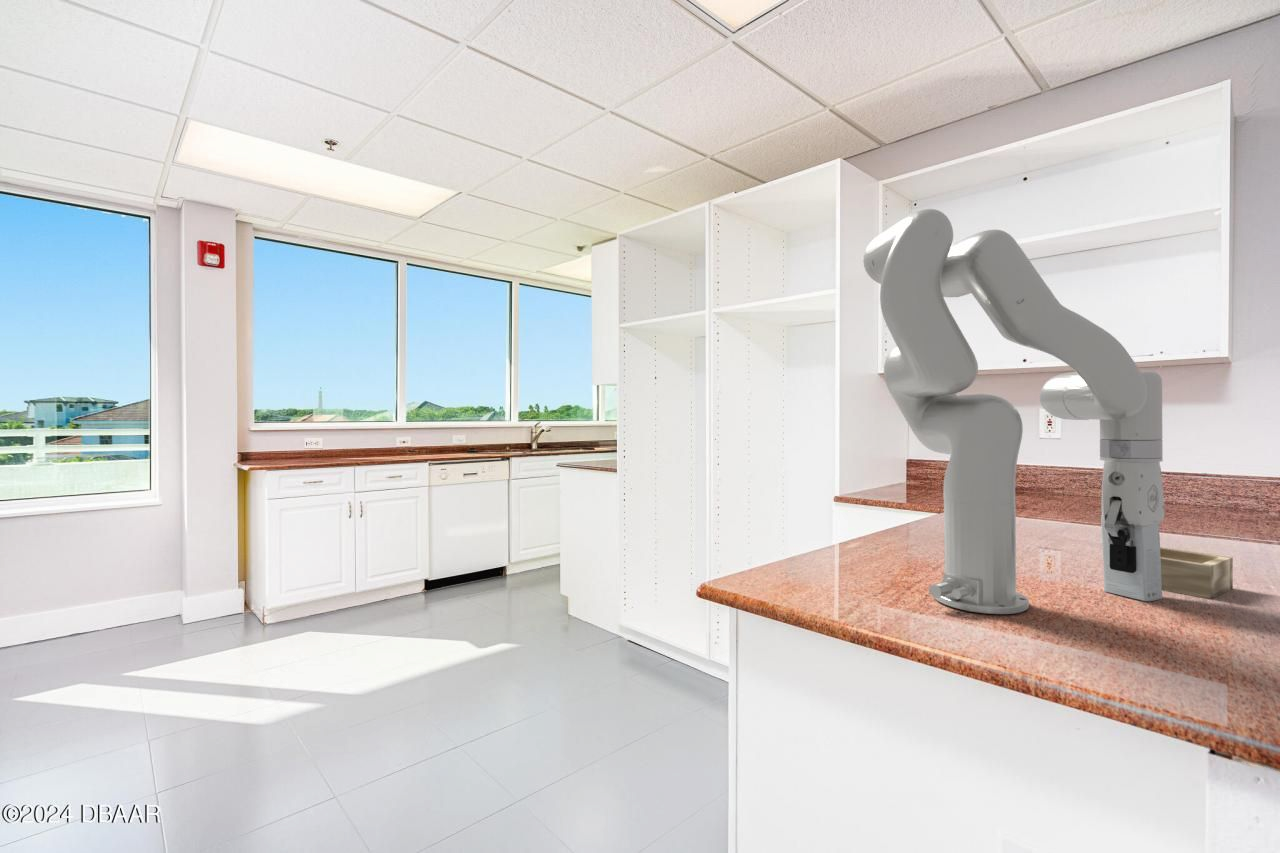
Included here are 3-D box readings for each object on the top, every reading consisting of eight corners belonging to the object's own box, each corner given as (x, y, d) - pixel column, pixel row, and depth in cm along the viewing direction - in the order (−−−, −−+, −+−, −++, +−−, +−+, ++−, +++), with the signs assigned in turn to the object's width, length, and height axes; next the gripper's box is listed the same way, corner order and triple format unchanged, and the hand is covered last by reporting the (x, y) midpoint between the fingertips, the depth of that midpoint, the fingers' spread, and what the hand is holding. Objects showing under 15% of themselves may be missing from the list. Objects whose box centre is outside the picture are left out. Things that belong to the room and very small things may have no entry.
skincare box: (1163, 599, 91) (1163, 519, 91) (1144, 602, 90) (1144, 522, 89) (1119, 588, 97) (1118, 513, 97) (1100, 591, 95) (1100, 515, 95)
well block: (1210, 599, 91) (1210, 566, 91) (1126, 582, 100) (1126, 553, 100) (1232, 588, 95) (1232, 557, 95) (1150, 574, 105) (1150, 545, 104)
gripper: (1135, 455, 85) (1136, 582, 86) (1183, 449, 94) (1183, 565, 94) (1075, 453, 92) (1076, 571, 92) (1125, 447, 100) (1126, 556, 101)
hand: (1130, 566), depth 93 cm, fingers closed on skincare box, 4 cm apart
